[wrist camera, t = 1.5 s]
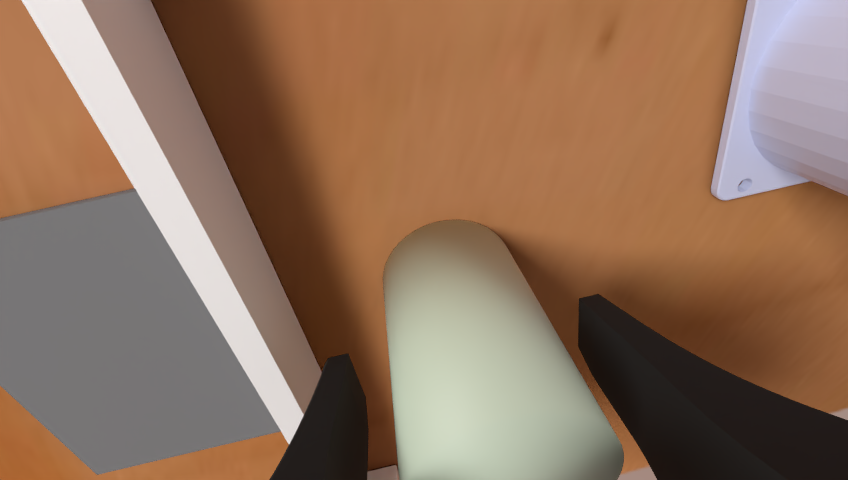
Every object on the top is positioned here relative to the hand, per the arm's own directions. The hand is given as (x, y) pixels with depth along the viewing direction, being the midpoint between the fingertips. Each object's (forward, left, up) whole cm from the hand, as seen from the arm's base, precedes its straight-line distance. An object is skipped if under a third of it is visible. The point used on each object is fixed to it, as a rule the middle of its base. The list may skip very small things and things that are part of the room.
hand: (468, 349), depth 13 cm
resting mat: (+12, 0, -4) cm, 13 cm away
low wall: (+6, 0, -4) cm, 7 cm away
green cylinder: (0, 0, -4) cm, 4 cm away
